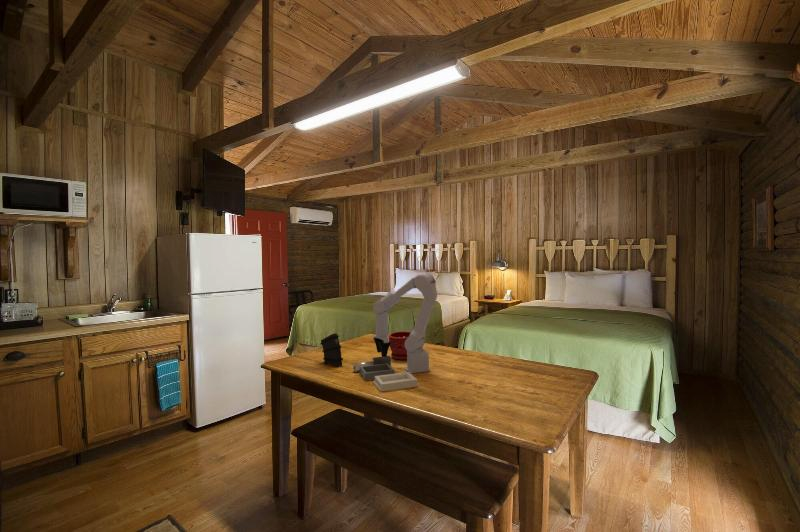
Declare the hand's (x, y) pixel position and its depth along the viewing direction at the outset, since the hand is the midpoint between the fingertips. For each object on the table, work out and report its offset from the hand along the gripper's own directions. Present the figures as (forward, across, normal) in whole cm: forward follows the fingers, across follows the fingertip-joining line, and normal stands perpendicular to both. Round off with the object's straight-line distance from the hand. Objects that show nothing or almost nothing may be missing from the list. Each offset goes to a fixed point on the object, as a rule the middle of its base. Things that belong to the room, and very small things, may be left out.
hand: (382, 354), depth 181 cm
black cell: (+5, 0, 0) cm, 5 cm away
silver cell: (+3, +2, -10) cm, 10 cm away
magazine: (+6, -12, -22) cm, 26 cm away
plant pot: (+6, -9, +13) cm, 17 cm away
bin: (+5, +12, -6) cm, 14 cm away
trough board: (+5, +26, -2) cm, 27 cm away
